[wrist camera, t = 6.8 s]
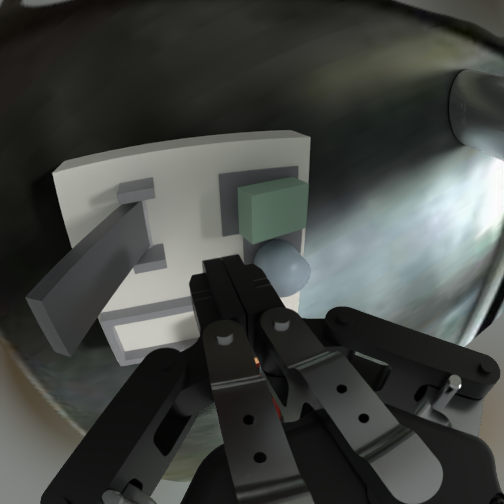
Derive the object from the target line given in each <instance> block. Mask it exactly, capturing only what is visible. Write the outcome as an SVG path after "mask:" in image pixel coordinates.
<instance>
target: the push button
mask: <svg viewBox="0 0 504 504" xmlns="http://www.w3.org/2000/svg"><path fill="white" fill-rule="evenodd" d="M254 264H255V265H256V266H258V267H259V268H261V269H262V270H263V272H264V273H265V275H266V276H267V279H268V280H269V281H270V283H271V285H272V286H273V288H274V289H275V291H276V292H277V294H278V296H279V297H288V296H291V295H294V294H295V293H297V292H299V291H300V290H301V289H302V288H303V287H304V286H305V285H306V283H307V281H308V279H309V277H310V266H309V264H308V262H307V261H306V260H305V259H304V258H303V256H302V255H301V254H300V253H299V252H298V251H297V250H296V249H295V247H294V246H293V245H292V244H291V243H290V242H288V241H286V240H282V239H277V240H272V241H270V242H268V243H266V244H264V245H263V246H262V247H261V248H260V249H259V250H258V252H257V253H256V255H255V258H254Z"/></svg>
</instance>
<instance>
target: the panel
mask: <svg viewBox="0 0 504 504" xmlns="http://www.w3.org/2000/svg"><path fill="white" fill-rule="evenodd" d="M310 138H311V137H309V136H306V135H303V134H300V133H298V132H295V131H292V130H277V131H258V132H243V133H230V134H219V135H209V136H200V137H192V138H184V139H176V140H169V141H162V142H156V143H149V144H143V145H138V146H132V147H126V148H121V149H116V150H111V151H106V152H101V153H97V154H92V155H88V156H83V157H79V158H75V159H71V160H67V161H64V162H63V163H62V164H61V165H60V166H59V167H58V168H57V169H56V170H55V171H54V172H53V173H52V174H53V178H54V183H55V187H56V192H57V196H58V200H59V204H60V208H61V212H62V216H63V219H64V223H65V226H66V230H67V233H68V237H69V240H70V243H71V246H72V249H73V248H74V247H75V246H76V245H77V244H78V243H79V242H80V241H81V240H82V239H83V238H84V237H85V236H86V235H88V234H89V233H90V232H91V231H92V230H93V229H94V228H95V227H96V226H97V225H99V224H100V223H101V222H102V221H103V220H104V219H105V218H106V217H108V216H109V215H110V214H111V213H112V212H113V211H114V210H116V209H117V208H118V207H119V206H120V205H122V204H127V203H132V202H137V201H142V205H143V211H144V217H145V222H146V228H147V233H148V238H149V243H150V246H149V248H148V249H147V250H146V252H145V253H144V254H143V256H142V257H141V258H140V259H139V261H138V262H137V263H136V265H135V266H134V267H133V269H132V270H131V271H130V273H129V274H128V275H127V277H126V278H125V279H124V281H123V282H122V284H121V285H120V286H119V288H118V289H117V290H116V292H115V293H114V295H113V296H112V297H111V299H110V300H109V302H108V303H107V304H106V306H105V307H104V309H103V310H102V312H101V313H100V314H99V316H98V320H99V322H100V324H101V326H102V329H103V331H104V333H105V336H106V338H107V340H108V342H109V344H110V346H111V349H112V351H113V353H114V355H115V357H116V359H117V361H118V362H119V364H120V366H126V365H132V364H138V363H141V362H142V361H143V359H144V358H145V357H146V356H147V355H148V354H149V353H150V352H152V351H153V350H156V349H159V348H165V347H168V348H174V349H176V350H179V351H180V352H181V351H183V350H185V349H187V348H189V347H191V346H192V345H193V344H195V343H196V342H197V340H198V339H199V337H200V334H199V331H198V327H197V323H196V319H195V315H194V311H193V306H192V300H191V294H190V288H189V282H190V279H191V276H192V275H195V274H200V273H203V268H202V260H208V259H213V258H219V257H220V258H221V257H224V256H230V255H235V254H239V255H240V257H241V259H242V261H243V263H244V264H245V265H248V264H254V258H255V255H256V253H257V252H258V250H259V249H260V248H261V247H262V246H263V245H264V244H266V243H268V242H270V241H272V240H277V239H282V240H286V241H288V242H290V243H291V244H292V245H293V246H294V247H295V249H296V250H297V251H298V252H299V253H300V254H301V255H302V256H303V253H304V241H305V228H304V229H301V230H297V231H294V232H291V233H288V234H284V235H281V236H278V237H275V238H272V239H268V240H265V241H262V242H259V243H255V244H251V243H250V242H249V241H248V240H247V239H245V238H244V237H243V236H242V235H241V234H239V216H238V187H243V186H247V185H252V184H257V183H262V182H267V181H272V180H278V179H283V178H288V177H295V178H297V179H299V180H302V181H304V182H306V183H308V181H309V162H310ZM299 296H300V291H299V292H297V293H295V294H294V295H291V296H288V297H280V299H281V301H282V302H283V304H284V305H285V307H286V308H289V309H292V310H294V311H295V312H297V313H298V306H299Z"/></svg>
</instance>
